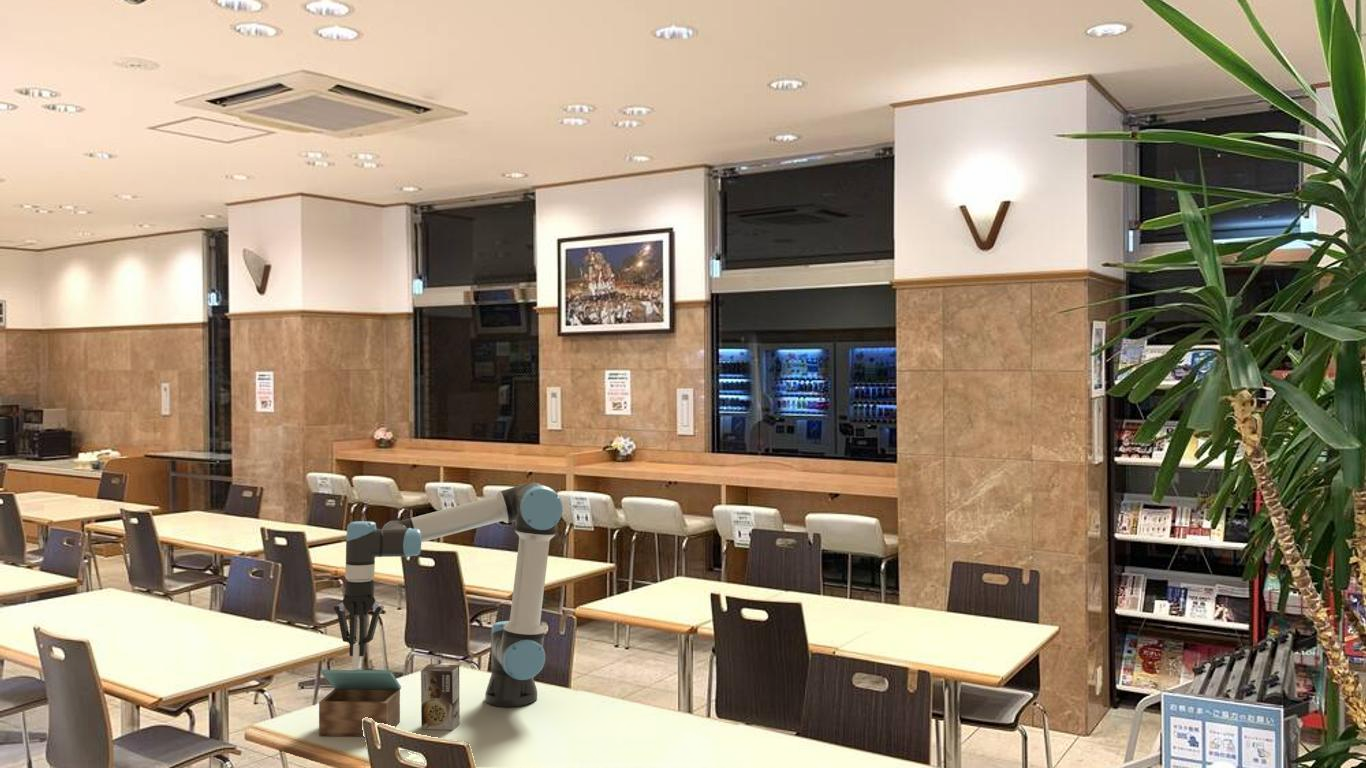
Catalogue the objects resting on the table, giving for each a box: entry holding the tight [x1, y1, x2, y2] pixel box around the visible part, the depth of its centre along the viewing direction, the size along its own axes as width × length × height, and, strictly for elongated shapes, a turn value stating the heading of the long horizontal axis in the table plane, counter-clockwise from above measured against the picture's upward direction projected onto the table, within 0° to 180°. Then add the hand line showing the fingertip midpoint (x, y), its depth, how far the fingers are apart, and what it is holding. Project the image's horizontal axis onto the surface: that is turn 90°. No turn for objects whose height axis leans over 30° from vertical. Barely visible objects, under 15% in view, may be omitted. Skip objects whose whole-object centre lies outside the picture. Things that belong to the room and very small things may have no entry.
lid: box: [320, 669, 402, 690], centre depth 284 cm, size 18×12×1 cm
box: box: [318, 688, 401, 738], centre depth 283 cm, size 18×12×9 cm, turn 89°
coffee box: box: [420, 663, 461, 731], centre depth 286 cm, size 9×6×16 cm
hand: (356, 668), depth 280 cm, fingers closed
